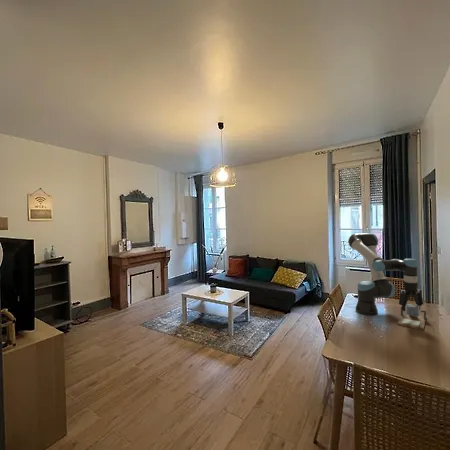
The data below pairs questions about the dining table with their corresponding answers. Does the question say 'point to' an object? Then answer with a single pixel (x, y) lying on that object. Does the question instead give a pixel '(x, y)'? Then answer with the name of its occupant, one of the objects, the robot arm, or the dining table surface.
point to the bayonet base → (413, 320)
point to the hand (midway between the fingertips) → (411, 315)
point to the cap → (412, 310)
